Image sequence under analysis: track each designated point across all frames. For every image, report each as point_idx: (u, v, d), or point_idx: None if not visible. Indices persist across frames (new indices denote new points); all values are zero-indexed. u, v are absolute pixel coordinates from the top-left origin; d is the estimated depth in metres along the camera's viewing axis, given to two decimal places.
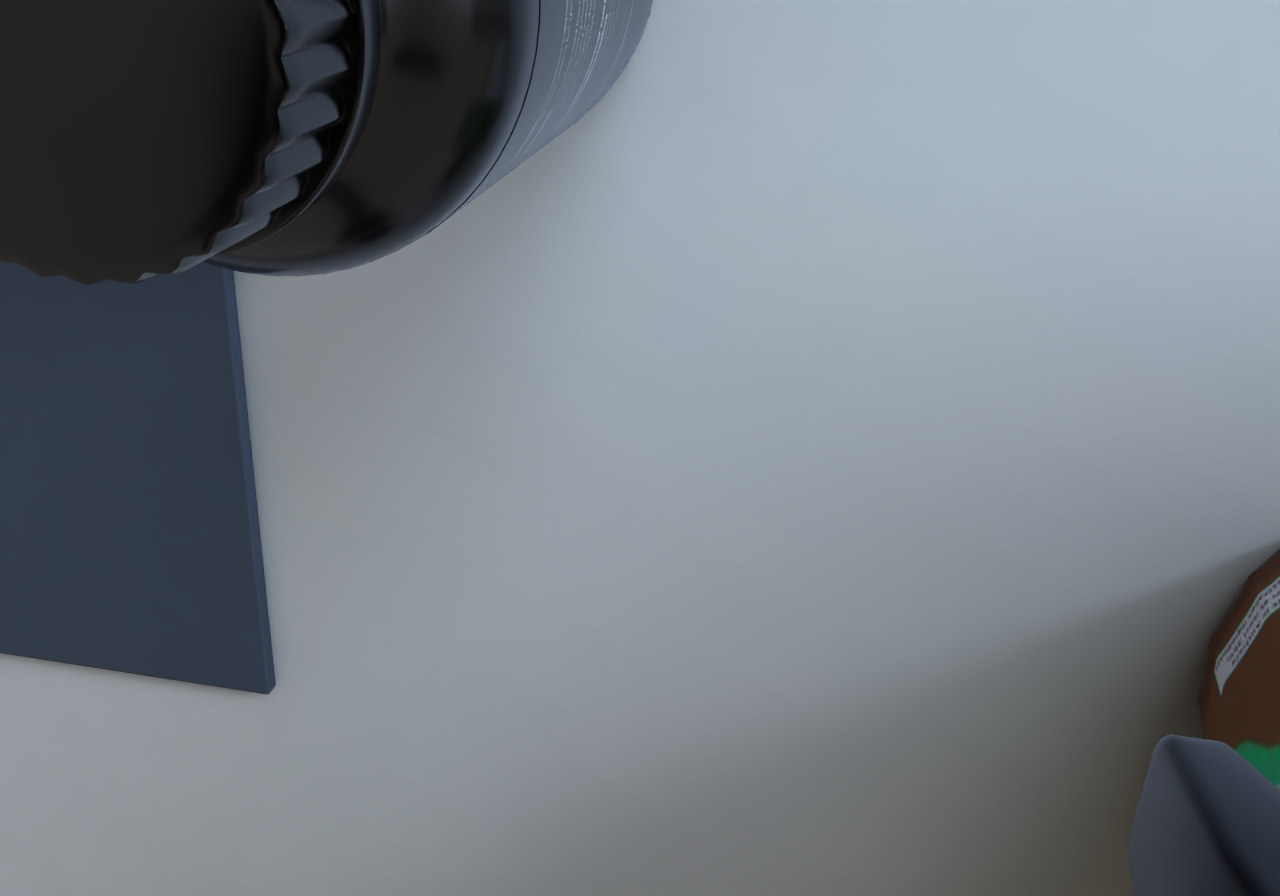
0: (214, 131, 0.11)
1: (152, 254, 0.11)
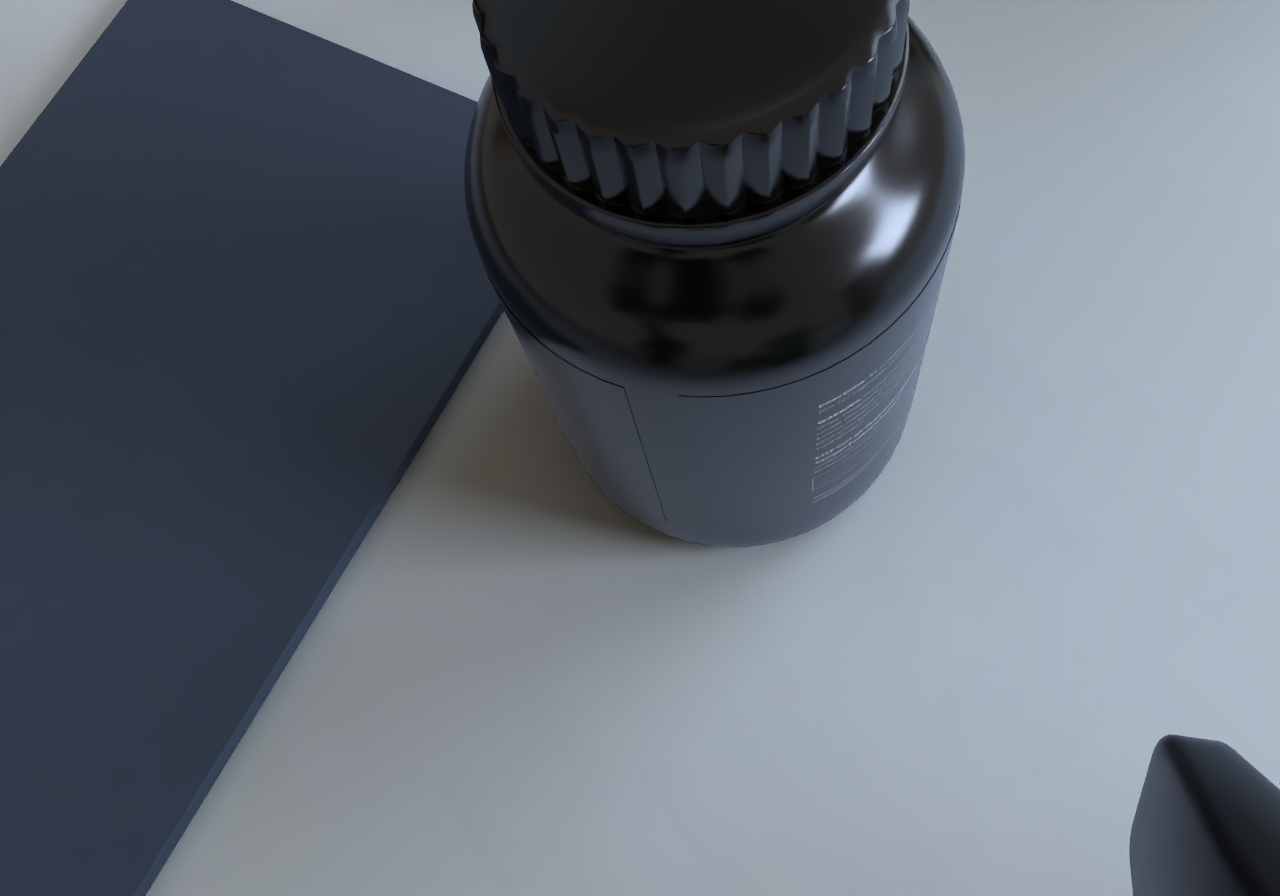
0: (792, 64, 0.12)
1: (672, 129, 0.12)
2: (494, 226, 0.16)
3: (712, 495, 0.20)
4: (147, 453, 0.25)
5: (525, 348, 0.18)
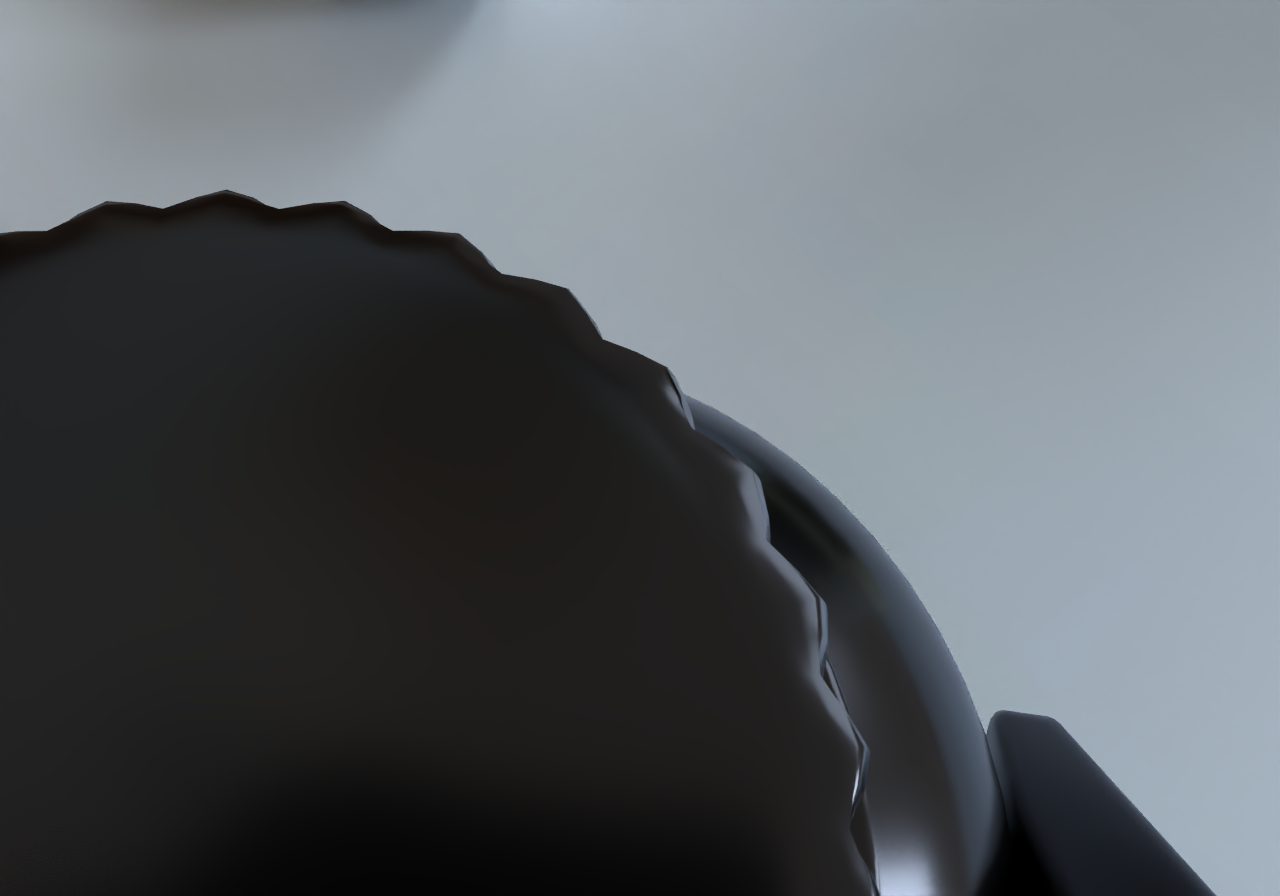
0: None
1: None
2: None
3: None
4: None
5: None
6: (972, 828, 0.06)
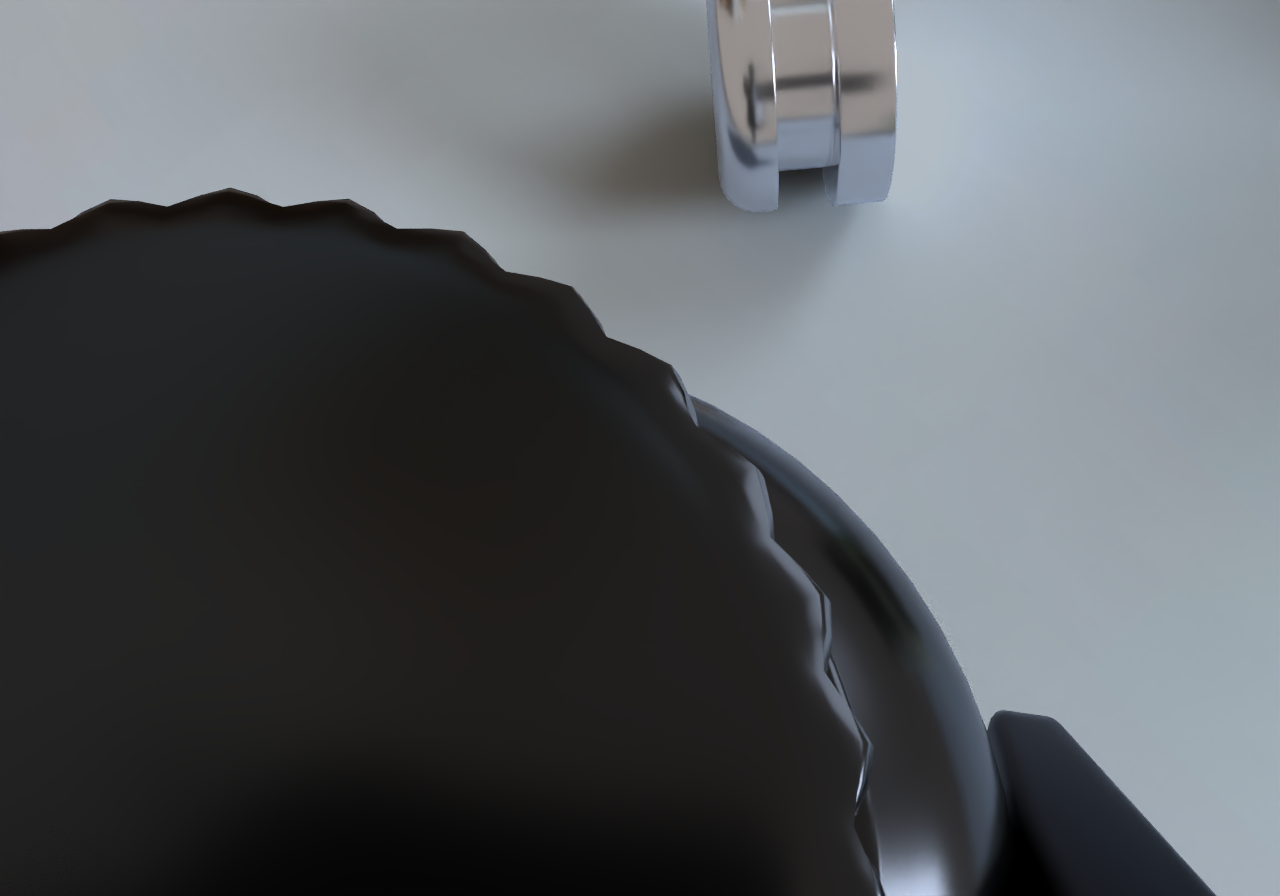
0: None
1: None
2: None
3: None
4: None
5: None
6: (975, 826, 0.06)
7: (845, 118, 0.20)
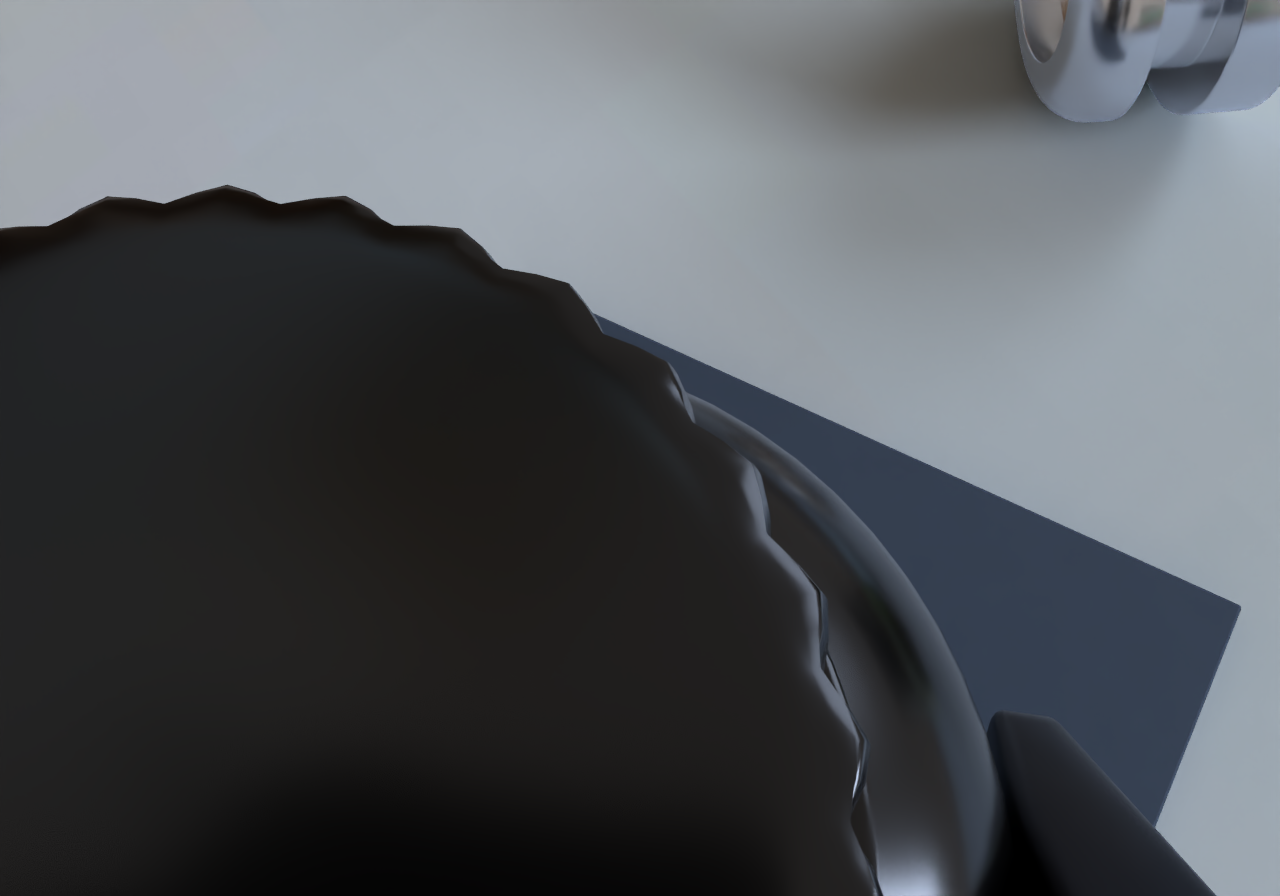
0: None
1: None
2: None
3: None
4: None
5: None
6: (972, 825, 0.06)
7: None
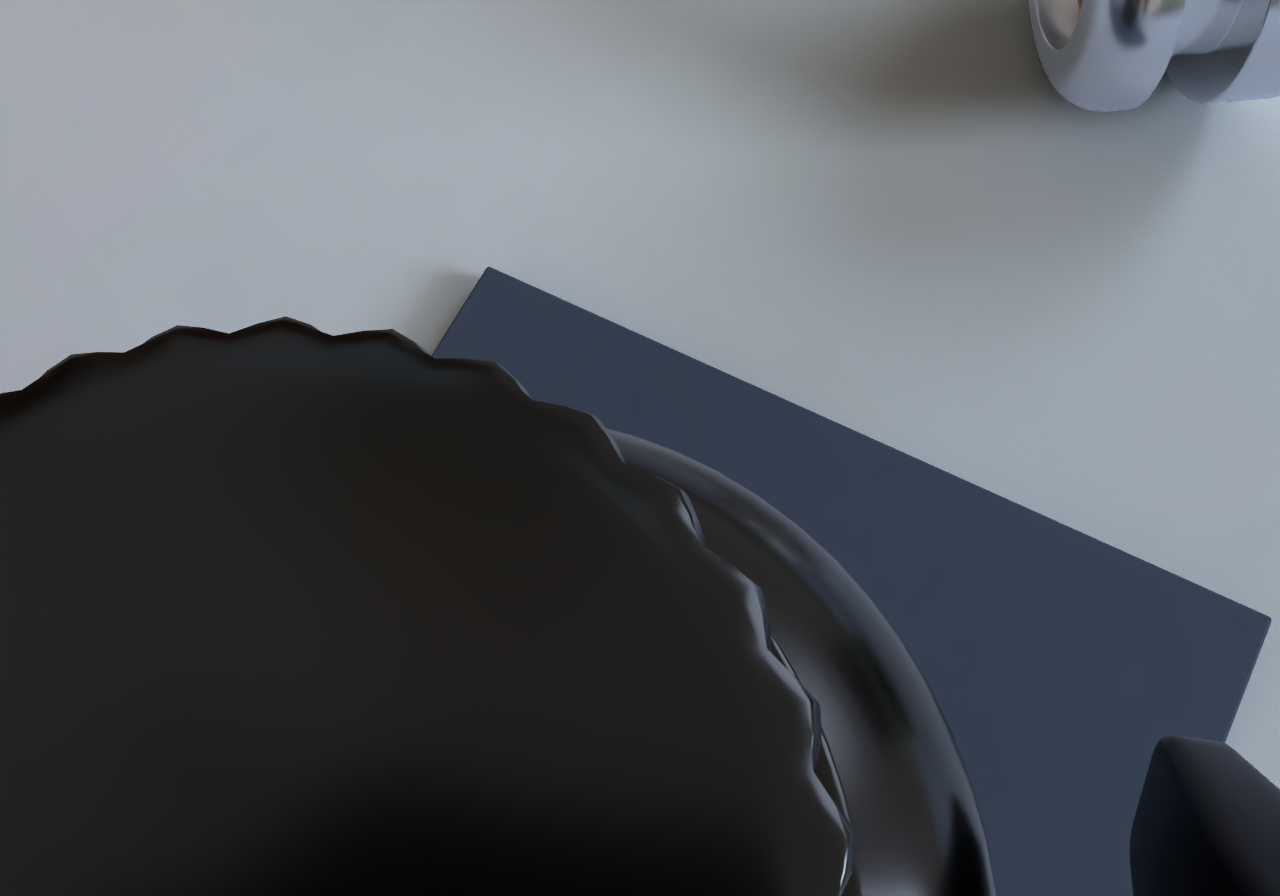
0: None
1: None
2: None
3: None
4: None
5: None
6: (957, 876, 0.07)
7: None
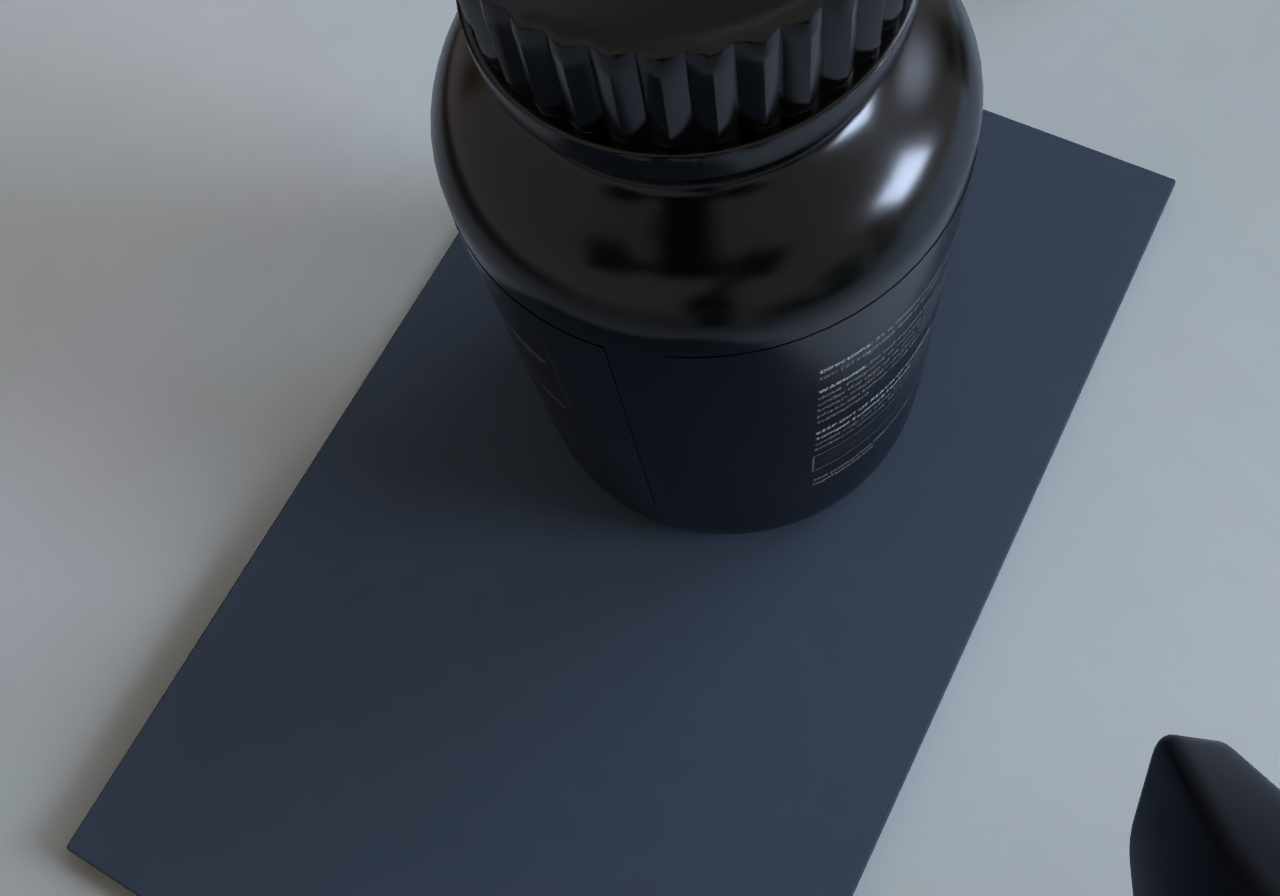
0: None
1: (654, 37, 0.11)
2: (461, 166, 0.14)
3: (704, 474, 0.18)
4: None
5: (499, 310, 0.16)
6: (961, 25, 0.14)
7: None
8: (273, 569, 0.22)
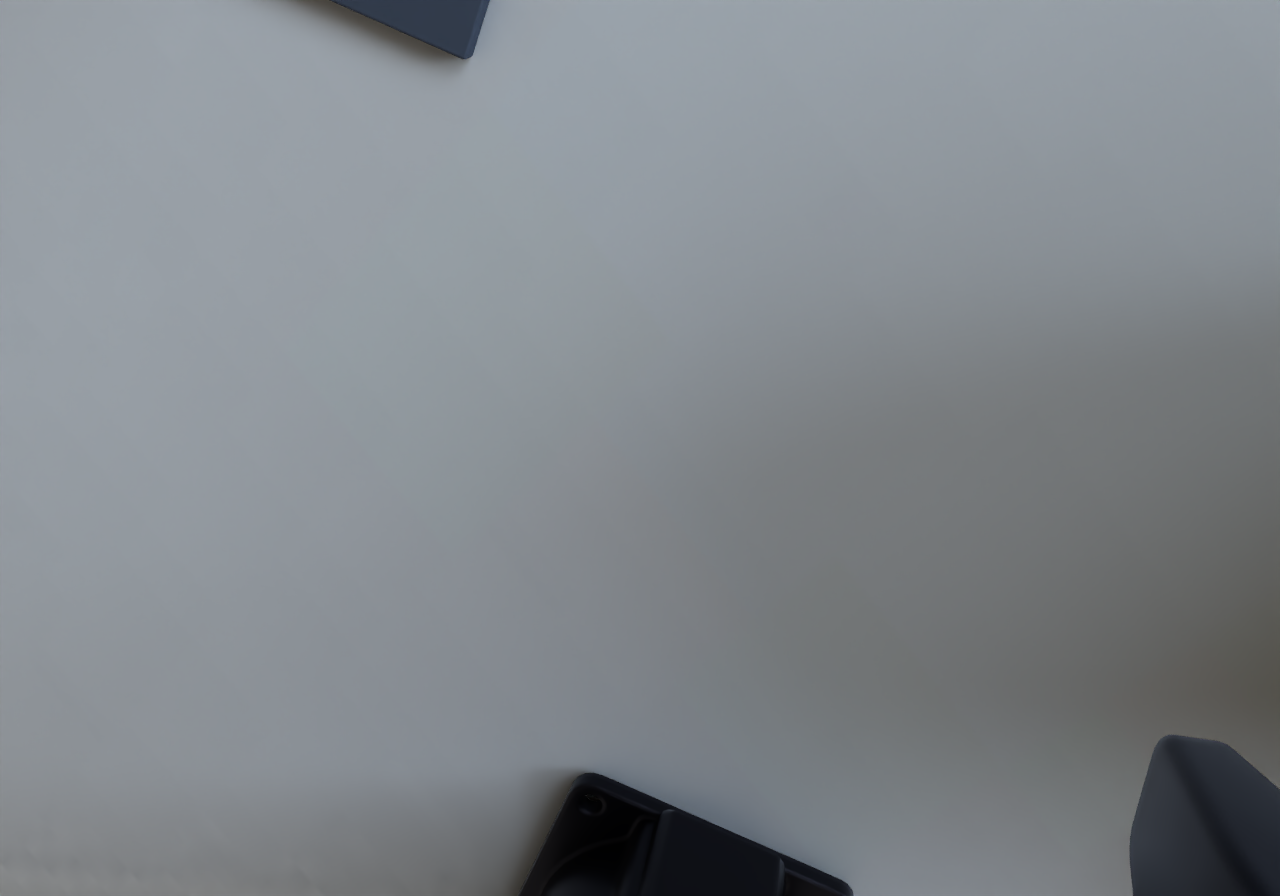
0: None
1: None
2: None
3: None
4: None
5: None
6: None
7: None
8: None
